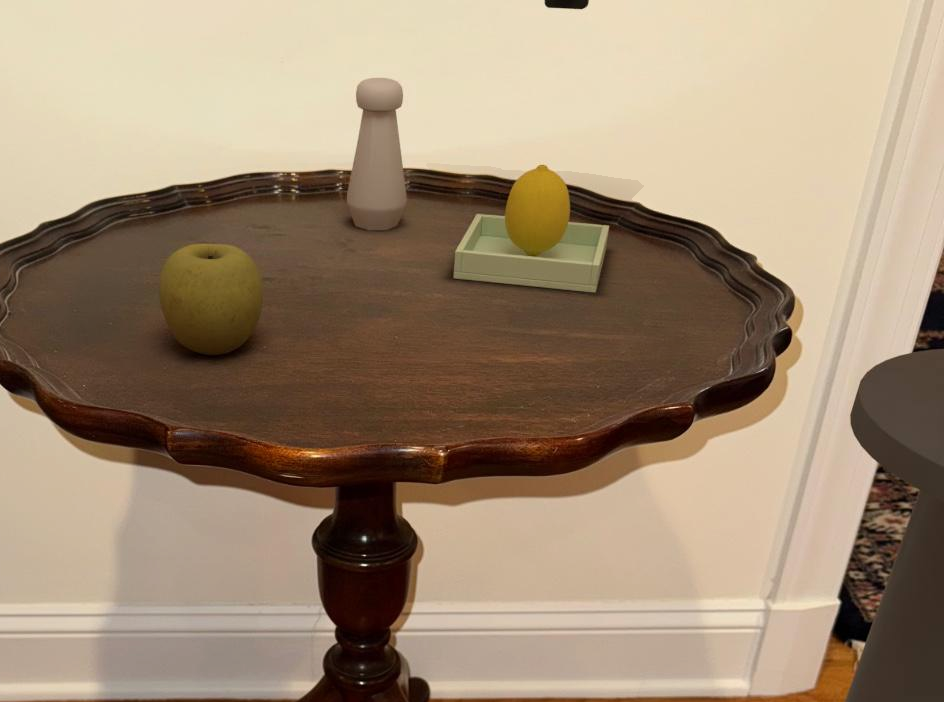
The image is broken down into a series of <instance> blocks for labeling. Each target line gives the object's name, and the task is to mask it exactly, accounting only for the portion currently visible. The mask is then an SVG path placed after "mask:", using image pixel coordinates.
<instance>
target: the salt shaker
mask: <svg viewBox="0 0 944 702" xmlns="http://www.w3.org/2000/svg"><path fill="white" fill-rule="evenodd" d="M355 99H356V100H355V101H356V105H357V107H358V108H359V109H360V110H362V113H361V118H360V119H361V120H360V126H359V132H358V137H357V143H356V147H355V152H354V158H353V162H352V168H351V173H350V178H349V183H348V188H347V193H346V203H347V208H348V210H349V213H350V216H351V218H352V221H353V224H354V225H355V227H357V228H360V229H363V230H366V231H389V230H391V229H393V228H395V227H397V226H398V225H399V222H400V221H401V218H402V216H403V214H404V211H405V209H406V207H407V204H408V203H407V202H408V196H407V188H406V181H405V173H404V166H403V157H402V148H401V142H400V141H401V140H400V133H399V126H398V117H397V110H398V109H401V107H402V105H403V102H404V91H403V87H402V85H401V83H400V82H399V81H397V80H394V79H392V78H387V77H370V78H366V79H363V80H361V81H359V83H358V84H357V86H356V90H355Z"/></svg>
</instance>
